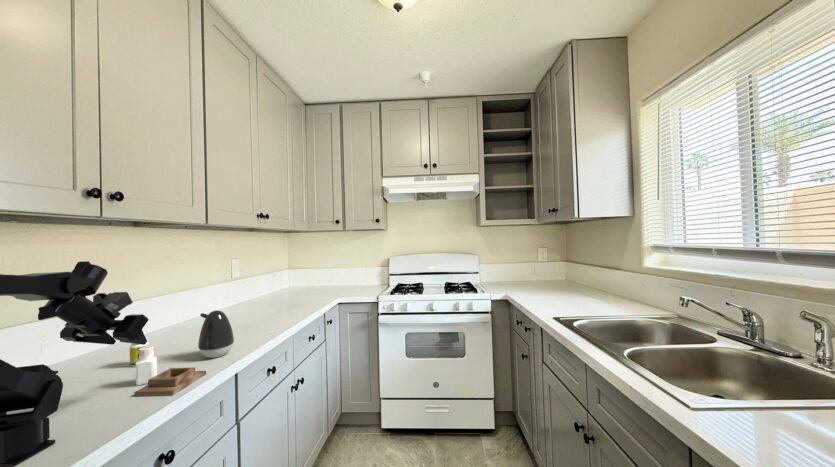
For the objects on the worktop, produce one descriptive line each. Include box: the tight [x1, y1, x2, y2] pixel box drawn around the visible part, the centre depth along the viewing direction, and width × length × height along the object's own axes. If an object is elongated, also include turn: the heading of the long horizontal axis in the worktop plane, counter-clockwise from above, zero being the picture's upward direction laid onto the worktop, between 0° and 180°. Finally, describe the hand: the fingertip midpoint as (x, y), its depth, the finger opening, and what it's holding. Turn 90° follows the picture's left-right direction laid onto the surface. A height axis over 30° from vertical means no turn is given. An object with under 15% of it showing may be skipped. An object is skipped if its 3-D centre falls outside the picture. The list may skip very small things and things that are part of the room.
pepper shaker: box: [135, 345, 158, 386], centre depth 87 cm, size 4×4×10 cm
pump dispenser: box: [198, 309, 235, 359], centre depth 106 cm, size 10×10×15 cm
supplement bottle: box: [129, 335, 150, 368], centre depth 100 cm, size 5×5×8 cm
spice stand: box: [134, 367, 207, 397], centre depth 85 cm, size 12×10×3 cm
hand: (129, 342), depth 83 cm, fingers open, 9 cm apart
